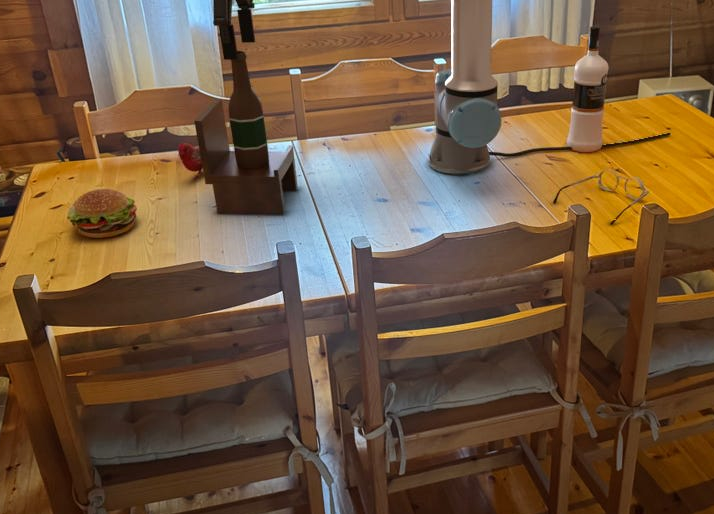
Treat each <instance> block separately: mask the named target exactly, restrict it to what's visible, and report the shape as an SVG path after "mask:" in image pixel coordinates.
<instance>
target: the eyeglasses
mask: <svg viewBox="0 0 714 514" xmlns="http://www.w3.org/2000/svg"><path fill="white" fill-rule="evenodd" d="M604 172H611V173H612V174H614V176H615V178H616V184H615V185H614V189H610V188H609V189H608V188H606V187H605V185H604V184H603V182H602V176H603V174H604ZM598 178H599V179H598ZM619 178H621V179H624V180H625V181H624V192H625V194H626V196H627V197H628V198H629V199H630V200H632V201H633V202H632V203H630V204H629V205H628V206H627V207H625V208H624V209H623V210H622V211H621V212H620V213H619V214H618V215H617V216H616V217H615V218H614V219H616V220H614V219H613V220H612V221H610V225H613V224H614V223H615V222H616V221H617V220H618V219H619V218H620V217H621V216H622V214H623V213H624V212H625V211H626V210H628V209H629V208H631V207H632V206H633V205H635V204H637V203H638V202H640V201H641V200H642V199H644V198H645V197H646V196H647V195H648V194H649V193H650V191H649V190H645V184H644V182H642V180H641V179H640V178H638V177H635V176H634V177H632V176H631V177H629V178H627V177H625V176H622V175H617V172H615V171H614V170H613V169H609V168H608V169H607V168H606V169H604V170H602V171H600V172H599V174H595V175H591V176H588V177H586V178H583V179H580V180H578V181H575V182H572V183H569V184H568V185H564V186H562V187H561V188H559V190H558V192H557V193H556V195H555V197H554V199H553V201H552V204H554V205H555V204H557V201H558V198H559V196H560V193H561V191H563V190H564V189H566V188H570V187H572V186H576V185H579V184H581V183H584V182H587V181H590V180H592V179H597V184H598V186H599V187H600V188H601V190H604V191H606V192H612V191H615V190H616V189H618V186H619V184H620V179H619ZM631 179H633V180H635V181H637V183H638V184H639V187H640V191H642V193H640V195H639V197H640V198H639V197H633V196H631V195H630V194H629V192H628V190H627V183H628V182H629V180H631ZM626 192H627V193H626Z"/></svg>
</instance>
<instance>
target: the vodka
mask: <svg viewBox="0 0 714 514" xmlns="http://www.w3.org/2000/svg"><path fill="white" fill-rule="evenodd" d="M600 36H601V27H600V26H598V25H591V26H590V27H589V32H588V43H587V44H588V45H587V52H586V53H587V54H585V55H584V56H582V57H581V58H580V59H578V60H577V61H576V62H575V66H574V68H573V71H574V72H573V74H574V75H573V91H572V92H573V93H572V101H571V102H572V103H571V108H570V112H571V113H570V124H569V128H568V129H569V130H568V134H567V136H566V145H567V146H566V147H571V148H572V150H571V151H574V152H578V153H595V152H596V151H599V150H600V149H602V148H601V147H602V145H603V144H604V138H603V124H604V123H603V122H604V120H603V119H604V113H605V103H606V101H605V100H606V91H607V84H608V83H607V81H608V73H609V72H608V71H609V69H610V67H609V63H608V61H606V60H605V59H604V58H603V57H602V56H601V55H599V49H600V48H599V46H600Z"/></svg>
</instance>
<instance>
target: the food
mask: <svg viewBox="0 0 714 514" xmlns="http://www.w3.org/2000/svg"><path fill="white" fill-rule="evenodd" d="M135 203H136V202H135V200H134V199H132V198H130V197H128V196H127V195H126V194H125V193H123V192H122V191H119V190H116V189H111V188H98V189H94V190H90V191H88V192H85V193H83V194H82V195H80V196H78V197H77V198H76V200H75V201H74V203H73V204H72V205H71V206H70V207H69V210H68V212H67V217H66V219H67V220H69V222H70V223H71V225H72V226H73V227H75V226H76V225H77V232H78V233H79V234H80V235H82V236H84V237H86V238H94V239H101V238H111V237H114V236H118V235H121V234H123V233H125V232H128V231H129V230H130V229H131V228H133V227H134V226H135V221H136V218H137V213H136V212H137V210H138V206H137V205H136V204H135Z"/></svg>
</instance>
